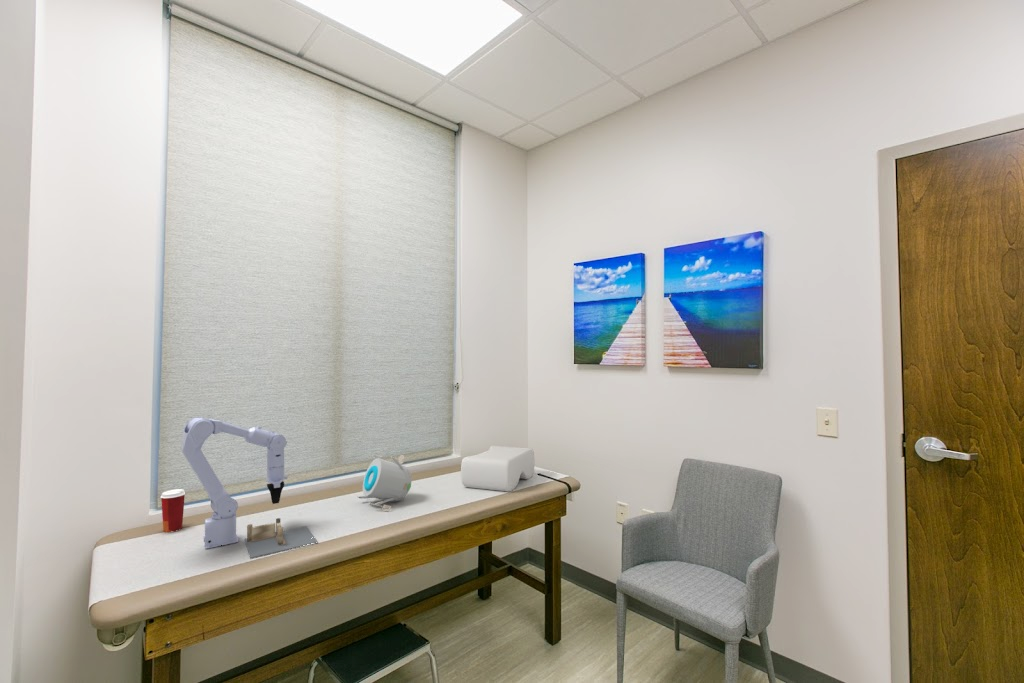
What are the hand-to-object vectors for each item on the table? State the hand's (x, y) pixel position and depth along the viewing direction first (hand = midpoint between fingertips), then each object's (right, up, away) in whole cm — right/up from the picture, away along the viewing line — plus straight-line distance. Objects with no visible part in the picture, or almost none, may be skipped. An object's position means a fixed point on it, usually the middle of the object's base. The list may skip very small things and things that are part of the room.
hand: (275, 503), depth 170 cm
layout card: (+8, -9, -13) cm, 17 cm away
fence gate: (+8, -8, -12) cm, 16 cm away
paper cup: (-39, -10, +1) cm, 40 cm away
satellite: (+33, -10, +29) cm, 45 cm away
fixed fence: (+1, -8, -11) cm, 14 cm away
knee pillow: (+82, -10, +59) cm, 101 cm away
